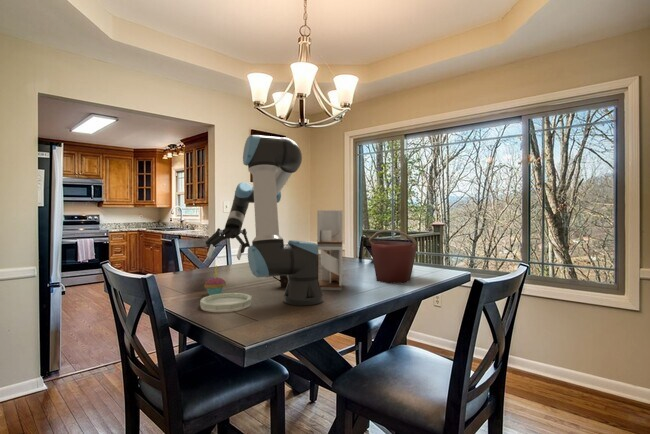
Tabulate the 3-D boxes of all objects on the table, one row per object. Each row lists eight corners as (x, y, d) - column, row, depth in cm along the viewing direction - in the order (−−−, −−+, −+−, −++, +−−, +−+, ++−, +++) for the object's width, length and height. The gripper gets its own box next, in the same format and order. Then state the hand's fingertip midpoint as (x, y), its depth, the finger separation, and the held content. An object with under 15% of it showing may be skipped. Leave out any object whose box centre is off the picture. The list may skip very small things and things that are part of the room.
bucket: (359, 279, 180) (360, 230, 179) (386, 273, 195) (386, 228, 194) (400, 287, 162) (400, 232, 161) (426, 280, 177) (426, 230, 176)
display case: (319, 284, 167) (319, 210, 166) (342, 284, 166) (342, 210, 165) (317, 289, 156) (317, 210, 155) (341, 290, 155) (341, 210, 154)
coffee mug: (298, 284, 166) (298, 263, 166) (295, 289, 157) (295, 266, 157) (274, 284, 167) (274, 263, 167) (270, 288, 158) (269, 266, 158)
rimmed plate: (260, 301, 136) (260, 295, 136) (232, 314, 119) (232, 307, 119) (221, 297, 142) (221, 291, 142) (189, 309, 125) (189, 302, 125)
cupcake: (207, 292, 150) (207, 264, 150) (227, 292, 151) (227, 264, 151) (202, 297, 142) (201, 267, 142) (223, 297, 143) (223, 267, 142)
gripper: (261, 227, 172) (252, 263, 157) (212, 227, 174) (198, 262, 160) (258, 217, 167) (249, 253, 152) (207, 217, 169) (193, 252, 154)
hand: (223, 258), depth 156 cm, fingers open, 13 cm apart
